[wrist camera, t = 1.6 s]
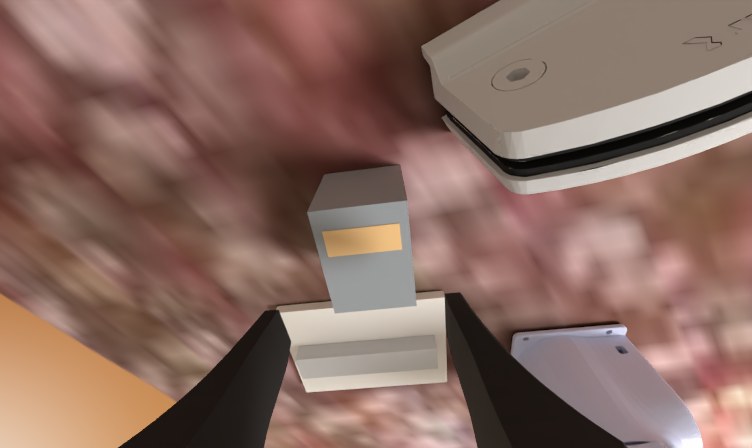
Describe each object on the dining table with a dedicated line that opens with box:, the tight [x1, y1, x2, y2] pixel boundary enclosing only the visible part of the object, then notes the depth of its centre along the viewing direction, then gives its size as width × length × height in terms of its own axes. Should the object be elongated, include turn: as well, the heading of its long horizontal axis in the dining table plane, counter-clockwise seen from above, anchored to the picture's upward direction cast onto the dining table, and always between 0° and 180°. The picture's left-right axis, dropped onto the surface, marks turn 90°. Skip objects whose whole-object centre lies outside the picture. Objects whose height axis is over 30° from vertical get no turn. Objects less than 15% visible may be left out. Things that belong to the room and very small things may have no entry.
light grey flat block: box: [421, 0, 752, 194], centre depth 13 cm, size 17×5×10 cm, turn 117°
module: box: [307, 165, 417, 313], centre depth 19 cm, size 5×7×6 cm
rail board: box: [276, 291, 447, 392], centre depth 27 cm, size 14×11×2 cm
